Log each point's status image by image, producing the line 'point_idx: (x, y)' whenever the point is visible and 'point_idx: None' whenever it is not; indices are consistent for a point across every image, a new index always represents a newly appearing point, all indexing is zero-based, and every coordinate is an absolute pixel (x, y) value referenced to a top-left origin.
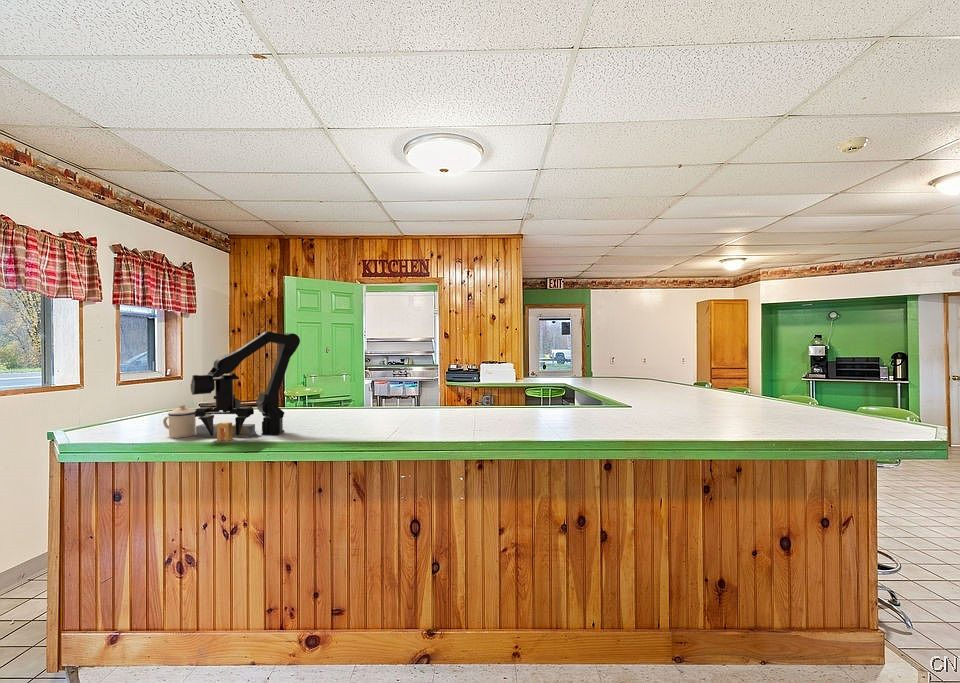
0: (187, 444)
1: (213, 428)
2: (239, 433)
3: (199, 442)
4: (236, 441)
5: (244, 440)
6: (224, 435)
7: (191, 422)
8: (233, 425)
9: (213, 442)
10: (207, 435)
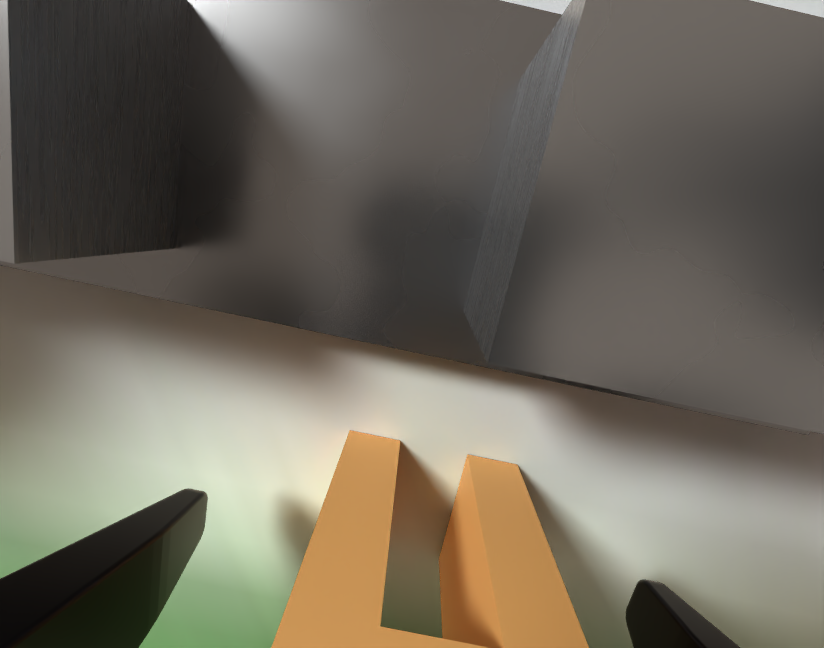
0: None
1: (115, 569)
2: (682, 600)
3: None
4: (600, 630)
5: (701, 599)
6: (395, 476)
7: None
8: (556, 264)
9: None
10: (47, 273)
